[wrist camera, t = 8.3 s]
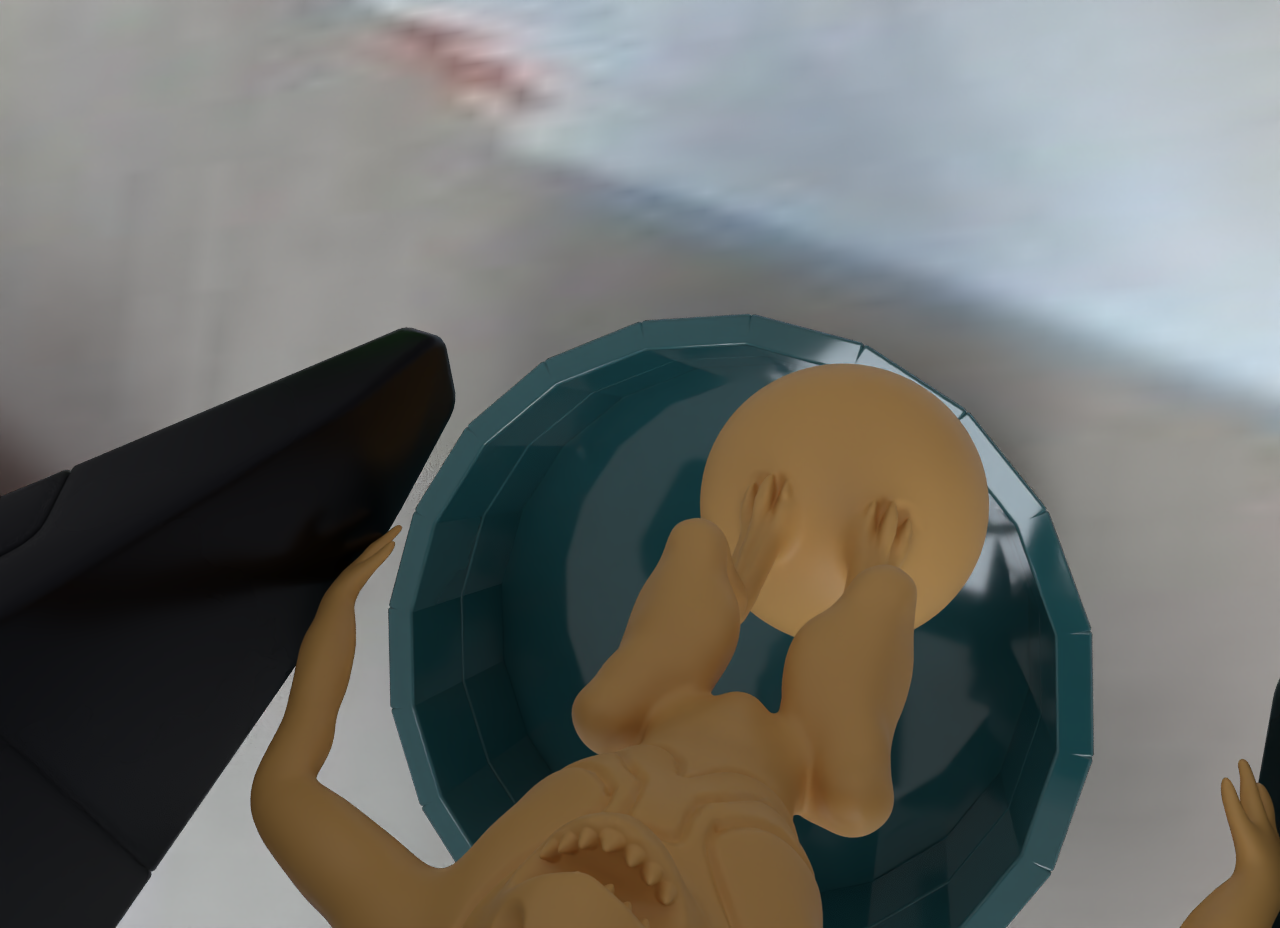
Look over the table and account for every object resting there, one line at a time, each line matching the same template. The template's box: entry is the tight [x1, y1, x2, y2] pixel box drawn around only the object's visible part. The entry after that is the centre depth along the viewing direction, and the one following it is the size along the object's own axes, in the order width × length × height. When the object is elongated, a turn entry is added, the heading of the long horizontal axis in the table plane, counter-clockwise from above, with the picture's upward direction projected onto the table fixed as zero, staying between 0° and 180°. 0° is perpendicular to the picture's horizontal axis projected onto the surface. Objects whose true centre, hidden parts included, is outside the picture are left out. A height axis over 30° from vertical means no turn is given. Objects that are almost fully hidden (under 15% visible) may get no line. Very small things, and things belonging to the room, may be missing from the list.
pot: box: [388, 314, 1094, 928], centre depth 20 cm, size 14×14×5 cm
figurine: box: [251, 364, 1280, 928], centre depth 10 cm, size 8×6×12 cm
